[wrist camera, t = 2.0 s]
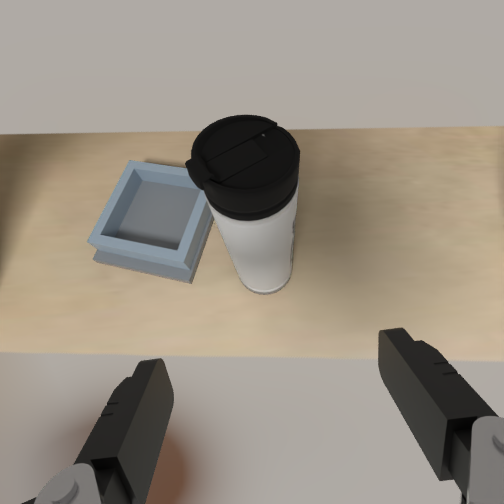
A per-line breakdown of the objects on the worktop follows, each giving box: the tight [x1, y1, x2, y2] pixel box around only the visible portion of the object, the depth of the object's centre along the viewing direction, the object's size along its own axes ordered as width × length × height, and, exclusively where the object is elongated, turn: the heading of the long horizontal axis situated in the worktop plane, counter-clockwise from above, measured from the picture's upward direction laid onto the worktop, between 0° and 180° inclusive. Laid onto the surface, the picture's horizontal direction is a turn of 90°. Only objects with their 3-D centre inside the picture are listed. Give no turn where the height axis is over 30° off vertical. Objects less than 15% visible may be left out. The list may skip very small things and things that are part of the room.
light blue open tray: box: [87, 160, 214, 284], centre depth 36 cm, size 13×15×4 cm
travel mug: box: [185, 115, 300, 295], centre depth 25 cm, size 6×7×20 cm
